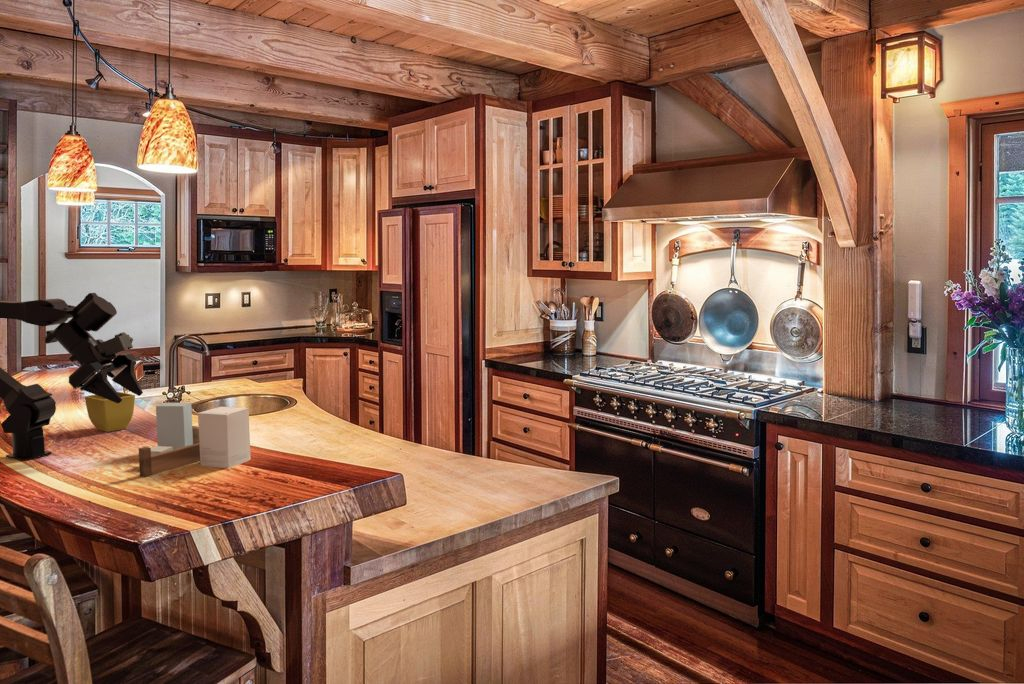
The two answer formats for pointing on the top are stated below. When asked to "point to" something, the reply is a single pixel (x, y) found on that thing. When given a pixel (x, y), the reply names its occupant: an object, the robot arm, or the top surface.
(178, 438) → the block
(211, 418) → the supplement box
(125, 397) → the flower pot
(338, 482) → the top surface
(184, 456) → the frame
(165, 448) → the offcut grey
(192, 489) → the top surface
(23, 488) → the top surface
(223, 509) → the top surface
